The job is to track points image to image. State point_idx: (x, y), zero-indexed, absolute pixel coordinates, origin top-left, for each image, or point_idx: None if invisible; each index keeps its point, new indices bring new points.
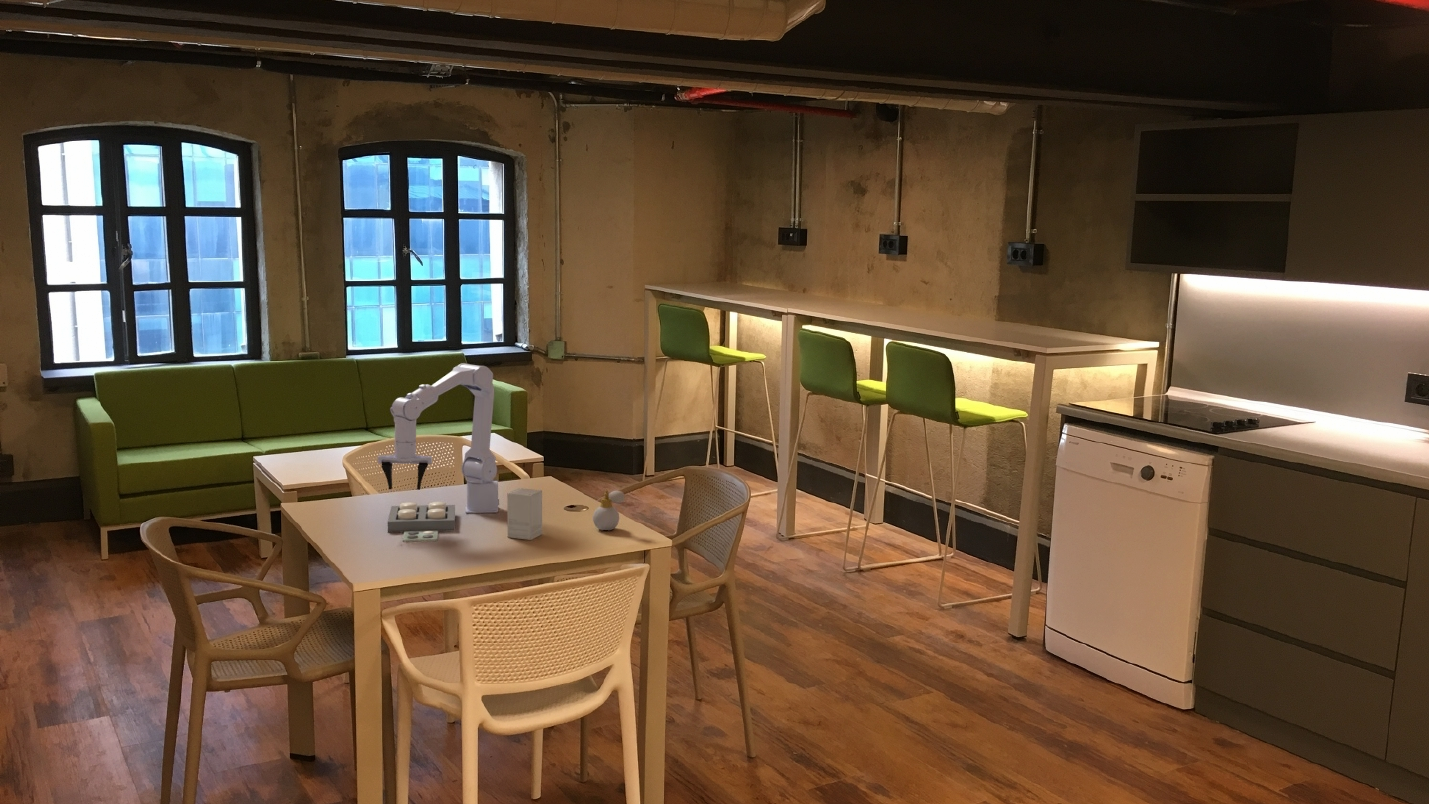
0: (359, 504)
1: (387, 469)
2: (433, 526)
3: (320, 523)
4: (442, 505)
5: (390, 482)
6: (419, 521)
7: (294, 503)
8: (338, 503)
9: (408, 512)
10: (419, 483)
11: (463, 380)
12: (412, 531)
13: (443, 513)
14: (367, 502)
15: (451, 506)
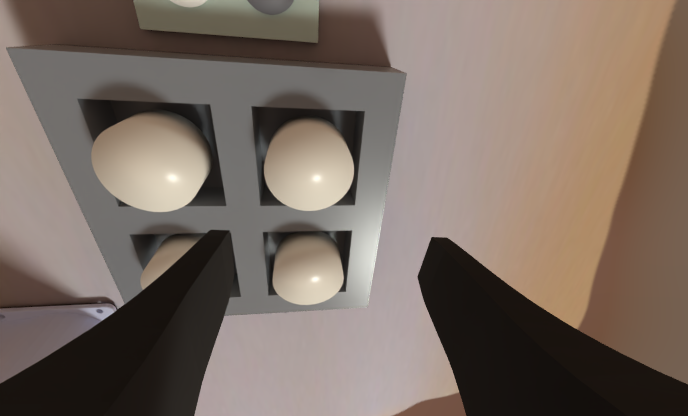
0: (428, 364)
1: (628, 387)
2: (164, 54)
3: (572, 219)
4: (148, 264)
5: (467, 267)
6: (236, 63)
7: None
8: None
9: (302, 147)
10: (186, 260)
11: None
12: (275, 13)
13: (100, 139)
14: (408, 376)
15: None
